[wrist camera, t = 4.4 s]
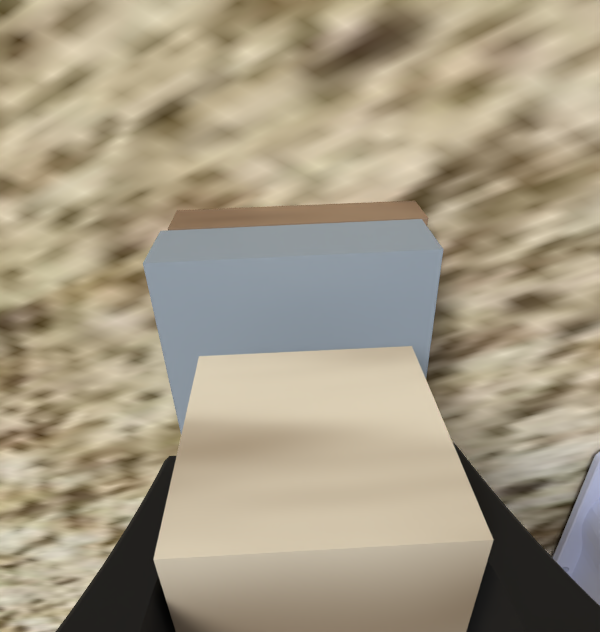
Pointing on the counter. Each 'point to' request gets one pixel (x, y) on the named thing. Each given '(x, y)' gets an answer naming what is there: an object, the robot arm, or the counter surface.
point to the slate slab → (291, 291)
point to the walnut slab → (296, 215)
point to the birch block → (319, 500)
